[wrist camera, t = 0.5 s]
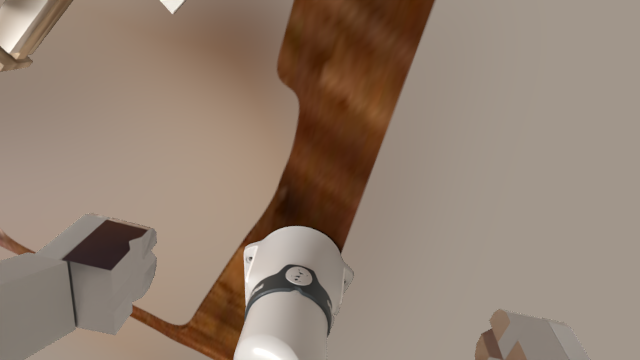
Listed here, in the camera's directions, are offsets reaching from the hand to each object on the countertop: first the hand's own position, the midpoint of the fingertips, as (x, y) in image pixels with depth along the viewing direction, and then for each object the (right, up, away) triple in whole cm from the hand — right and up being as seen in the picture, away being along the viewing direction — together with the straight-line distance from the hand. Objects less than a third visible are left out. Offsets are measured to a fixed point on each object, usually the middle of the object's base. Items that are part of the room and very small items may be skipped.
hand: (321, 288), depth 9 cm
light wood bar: (-37, +25, +42) cm, 62 cm away
